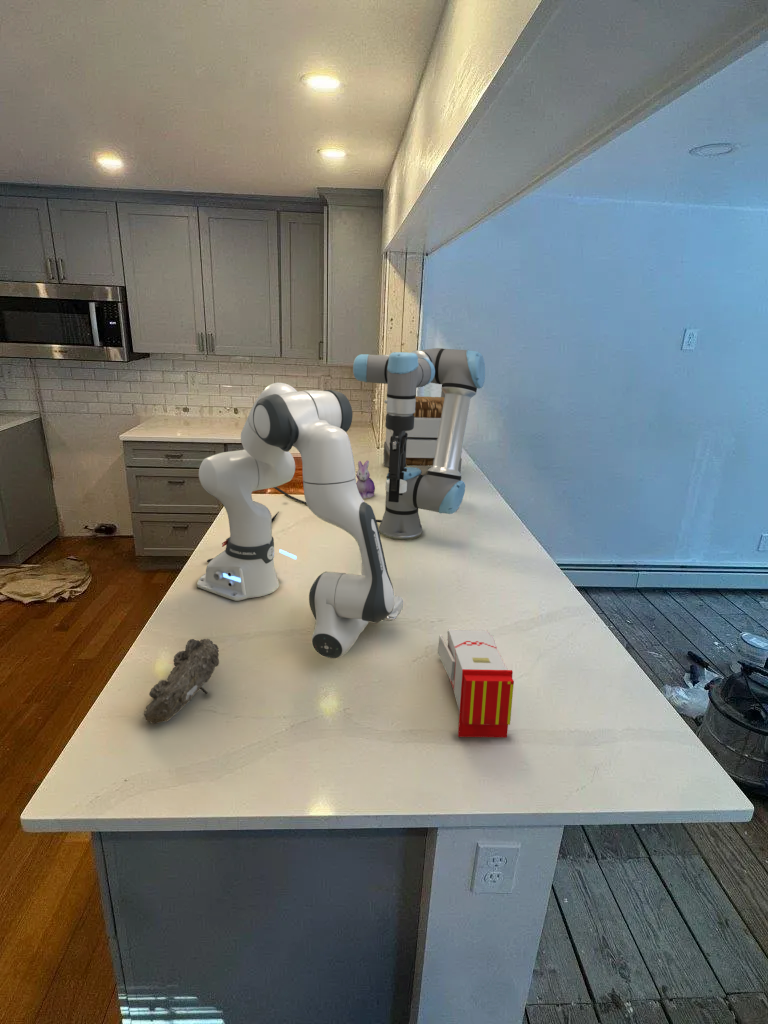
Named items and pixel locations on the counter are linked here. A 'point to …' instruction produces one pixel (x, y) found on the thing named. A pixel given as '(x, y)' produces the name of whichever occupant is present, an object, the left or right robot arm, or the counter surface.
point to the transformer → (421, 433)
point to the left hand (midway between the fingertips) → (372, 587)
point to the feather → (274, 517)
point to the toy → (478, 682)
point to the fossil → (183, 680)
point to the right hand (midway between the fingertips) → (395, 497)
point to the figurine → (365, 481)
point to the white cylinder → (402, 486)
